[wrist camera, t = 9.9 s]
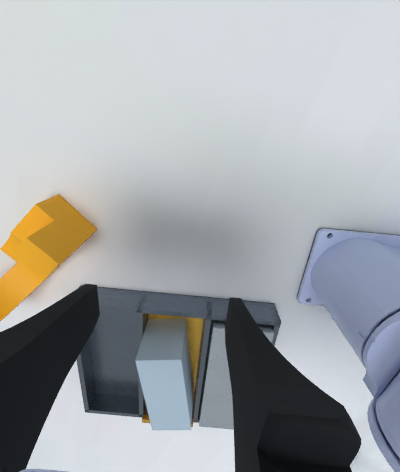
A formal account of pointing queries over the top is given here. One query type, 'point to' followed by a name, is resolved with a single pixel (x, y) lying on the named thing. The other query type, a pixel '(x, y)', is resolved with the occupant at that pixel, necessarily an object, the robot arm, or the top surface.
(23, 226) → the pipe clamp
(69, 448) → the top surface
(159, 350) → the tall blue-grey block
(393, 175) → the top surface
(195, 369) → the grey compartment tray
